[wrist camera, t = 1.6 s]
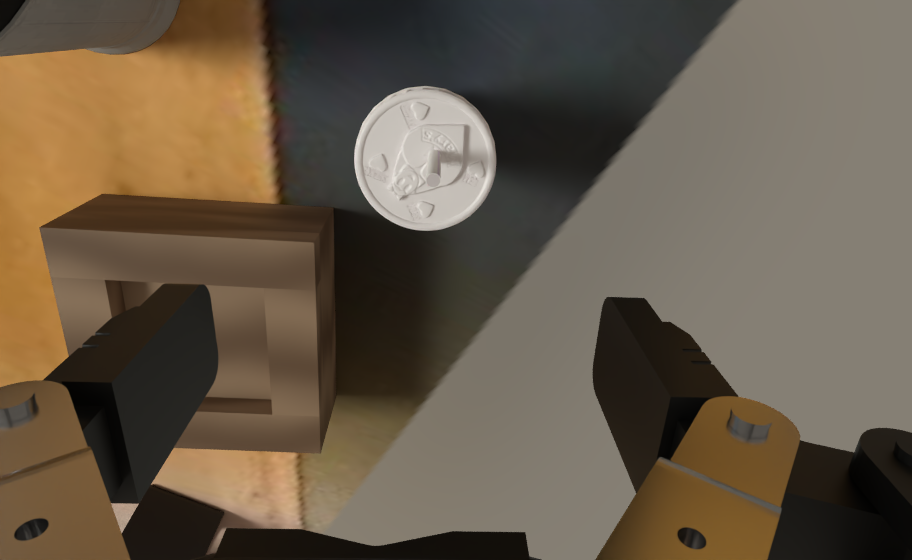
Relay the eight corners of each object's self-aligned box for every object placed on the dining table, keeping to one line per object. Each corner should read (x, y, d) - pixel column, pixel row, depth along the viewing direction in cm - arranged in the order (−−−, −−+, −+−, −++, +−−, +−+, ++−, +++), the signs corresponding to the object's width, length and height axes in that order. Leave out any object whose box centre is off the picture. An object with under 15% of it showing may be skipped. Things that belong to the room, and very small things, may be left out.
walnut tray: (104, 192, 36) (39, 227, 30) (334, 206, 37) (314, 242, 31) (138, 384, 42) (89, 444, 36) (337, 392, 43) (320, 453, 37)
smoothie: (505, 127, 35) (543, 192, 22) (429, 200, 37) (422, 299, 24) (429, 43, 33) (422, 61, 20) (351, 125, 35) (300, 189, 22)
